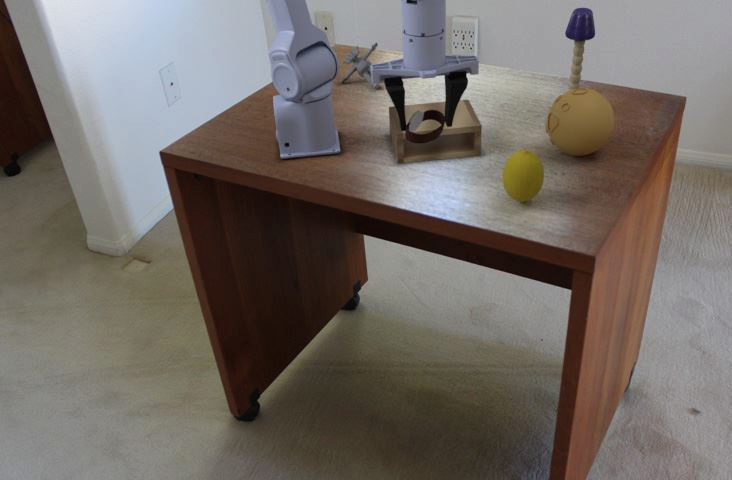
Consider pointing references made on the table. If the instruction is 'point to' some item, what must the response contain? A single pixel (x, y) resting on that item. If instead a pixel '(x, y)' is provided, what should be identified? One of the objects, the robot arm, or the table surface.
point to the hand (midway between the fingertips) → (425, 126)
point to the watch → (416, 122)
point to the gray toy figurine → (360, 65)
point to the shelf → (450, 142)
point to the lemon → (523, 175)
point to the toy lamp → (579, 40)
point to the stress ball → (580, 121)
